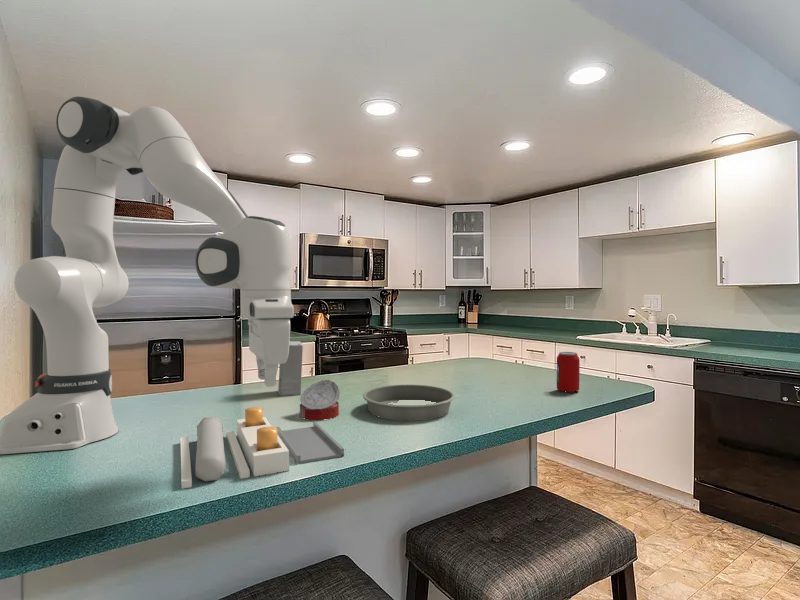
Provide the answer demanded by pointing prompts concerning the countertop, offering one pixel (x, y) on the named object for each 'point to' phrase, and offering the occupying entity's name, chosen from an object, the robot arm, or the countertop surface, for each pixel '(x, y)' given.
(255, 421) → the rear plunger
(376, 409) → the cake pan
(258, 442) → the front plunger
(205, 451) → the tube
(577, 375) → the beverage can
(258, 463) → the housing
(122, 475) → the countertop surface
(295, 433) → the tray
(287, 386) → the skincare box
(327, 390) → the canned food
